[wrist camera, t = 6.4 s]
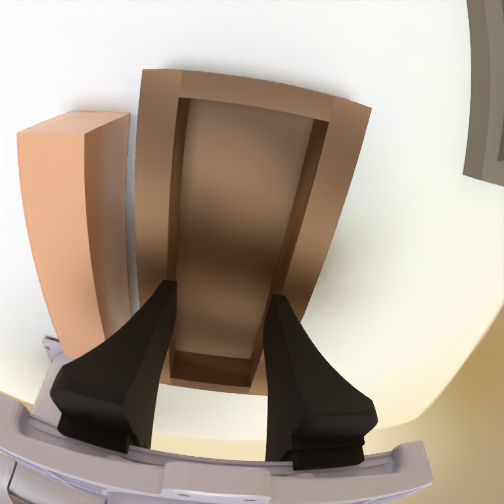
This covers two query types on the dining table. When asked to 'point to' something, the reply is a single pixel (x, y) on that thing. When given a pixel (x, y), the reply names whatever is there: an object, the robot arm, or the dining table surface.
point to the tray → (236, 210)
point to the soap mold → (486, 92)
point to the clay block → (78, 222)
